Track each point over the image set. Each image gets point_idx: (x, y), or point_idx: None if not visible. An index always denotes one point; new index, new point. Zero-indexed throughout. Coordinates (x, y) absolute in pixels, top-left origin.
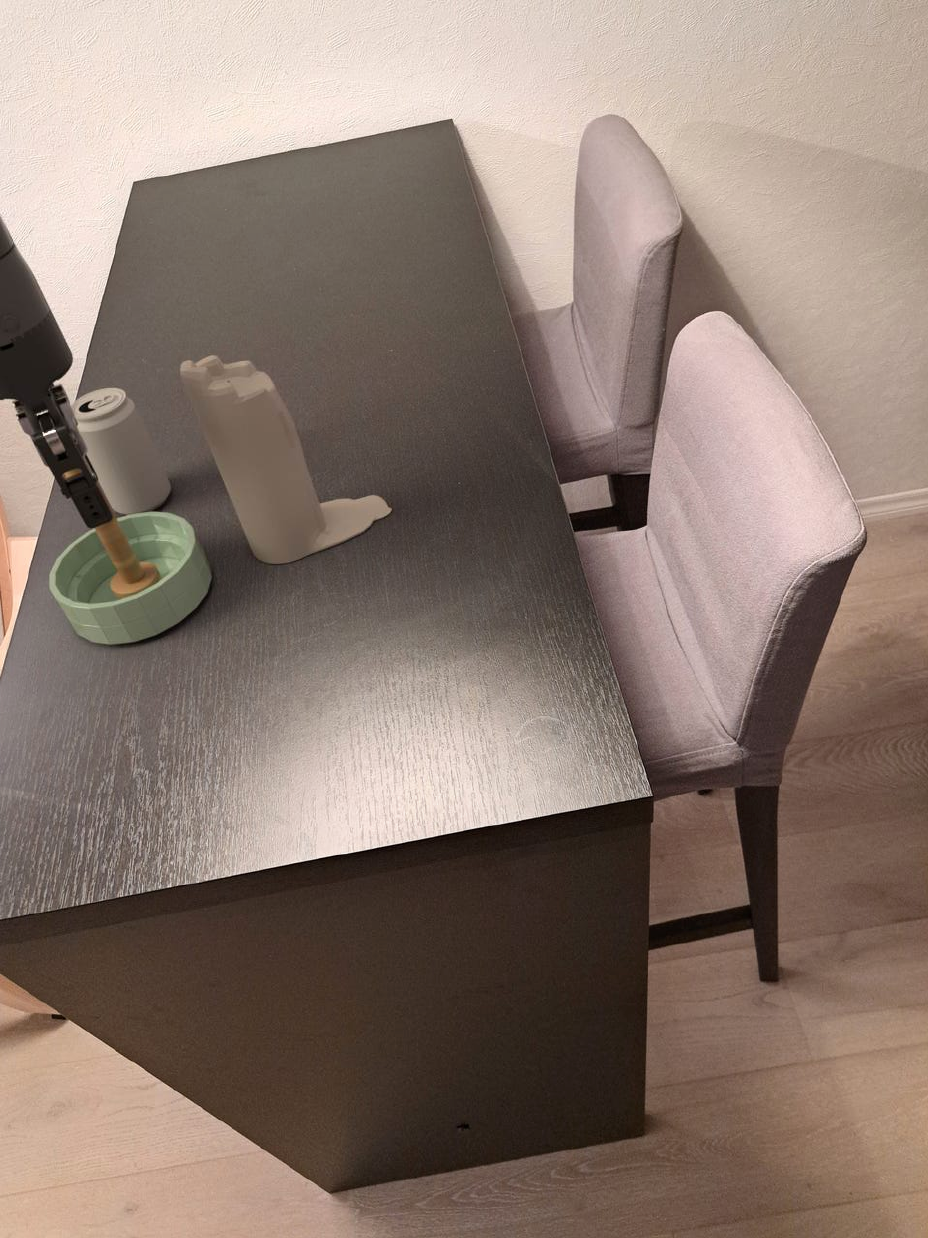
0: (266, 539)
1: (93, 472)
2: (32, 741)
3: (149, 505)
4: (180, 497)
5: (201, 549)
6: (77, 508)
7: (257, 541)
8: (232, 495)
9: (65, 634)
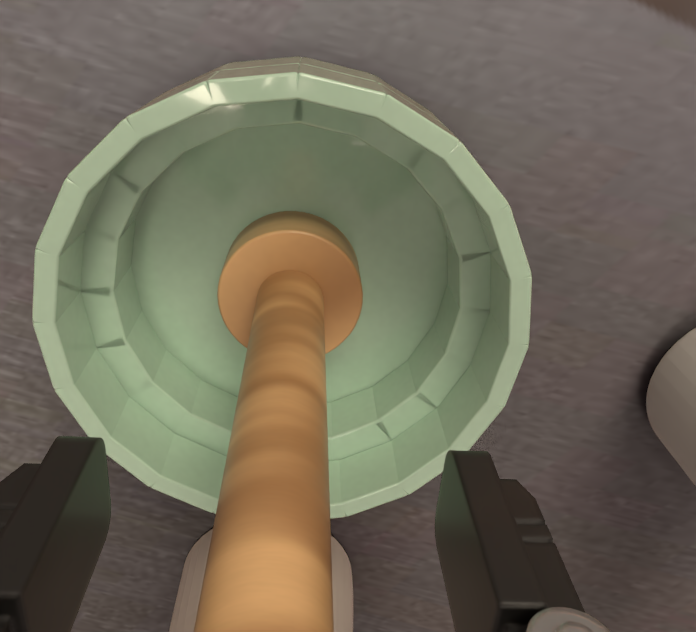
0: (187, 596)
1: (444, 563)
2: None
3: (650, 397)
4: (645, 450)
5: None
6: (15, 513)
7: None
8: None
9: (292, 21)
